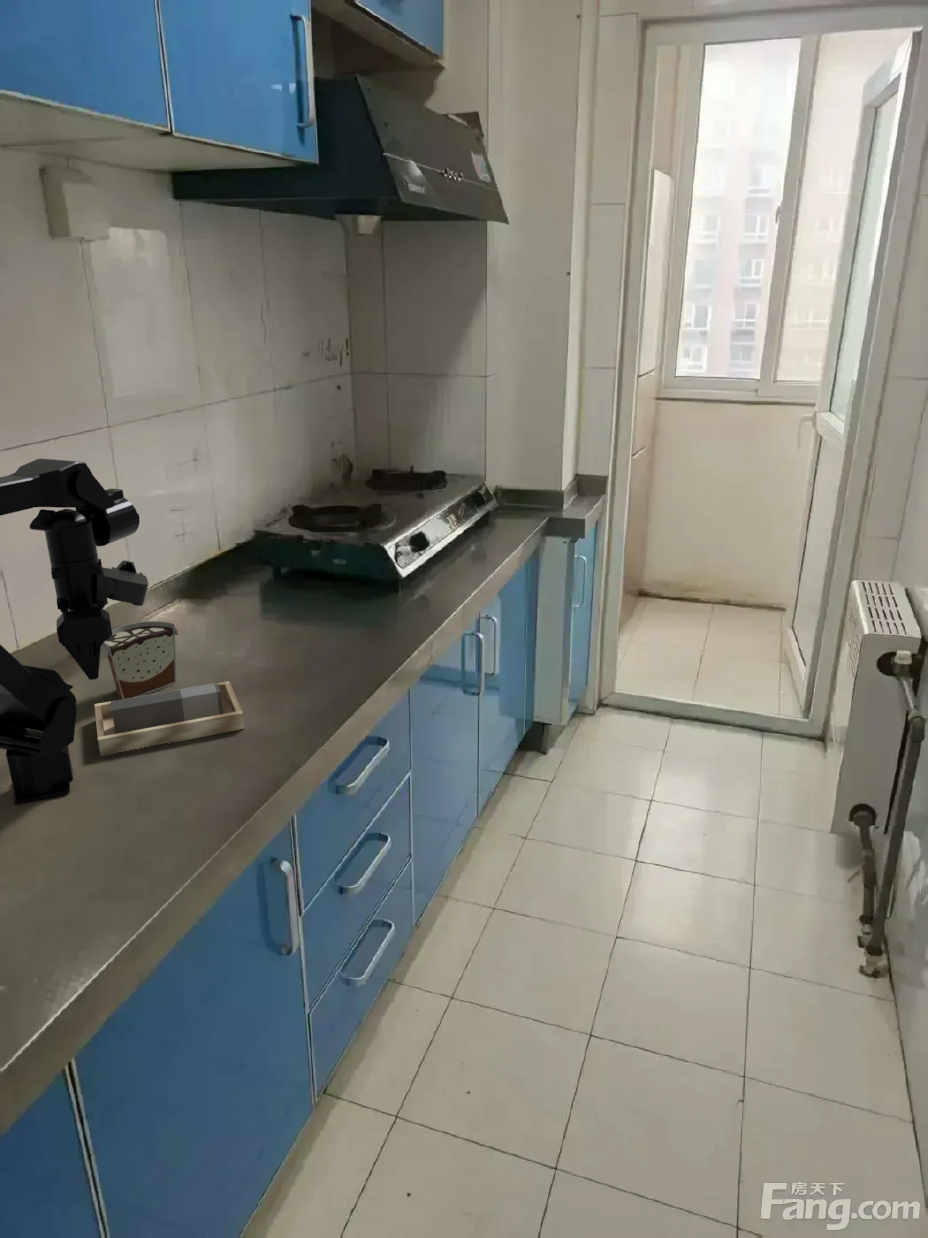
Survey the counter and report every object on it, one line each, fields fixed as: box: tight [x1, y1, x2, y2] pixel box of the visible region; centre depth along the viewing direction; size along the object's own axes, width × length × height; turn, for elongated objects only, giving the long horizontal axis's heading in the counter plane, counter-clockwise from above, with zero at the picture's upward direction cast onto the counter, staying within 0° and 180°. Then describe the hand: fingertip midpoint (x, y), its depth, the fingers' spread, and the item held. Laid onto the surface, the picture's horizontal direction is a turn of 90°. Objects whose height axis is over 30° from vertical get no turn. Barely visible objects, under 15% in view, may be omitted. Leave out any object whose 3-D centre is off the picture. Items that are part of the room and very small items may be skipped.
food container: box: [101, 620, 180, 700], centre depth 136 cm, size 12×6×10 cm, turn 141°
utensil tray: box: [94, 680, 245, 757], centre depth 126 cm, size 20×12×3 cm, turn 114°
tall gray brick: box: [110, 682, 223, 734], centre depth 125 cm, size 15×3×4 cm, turn 114°
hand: (92, 665), depth 117 cm, fingers open, 9 cm apart
